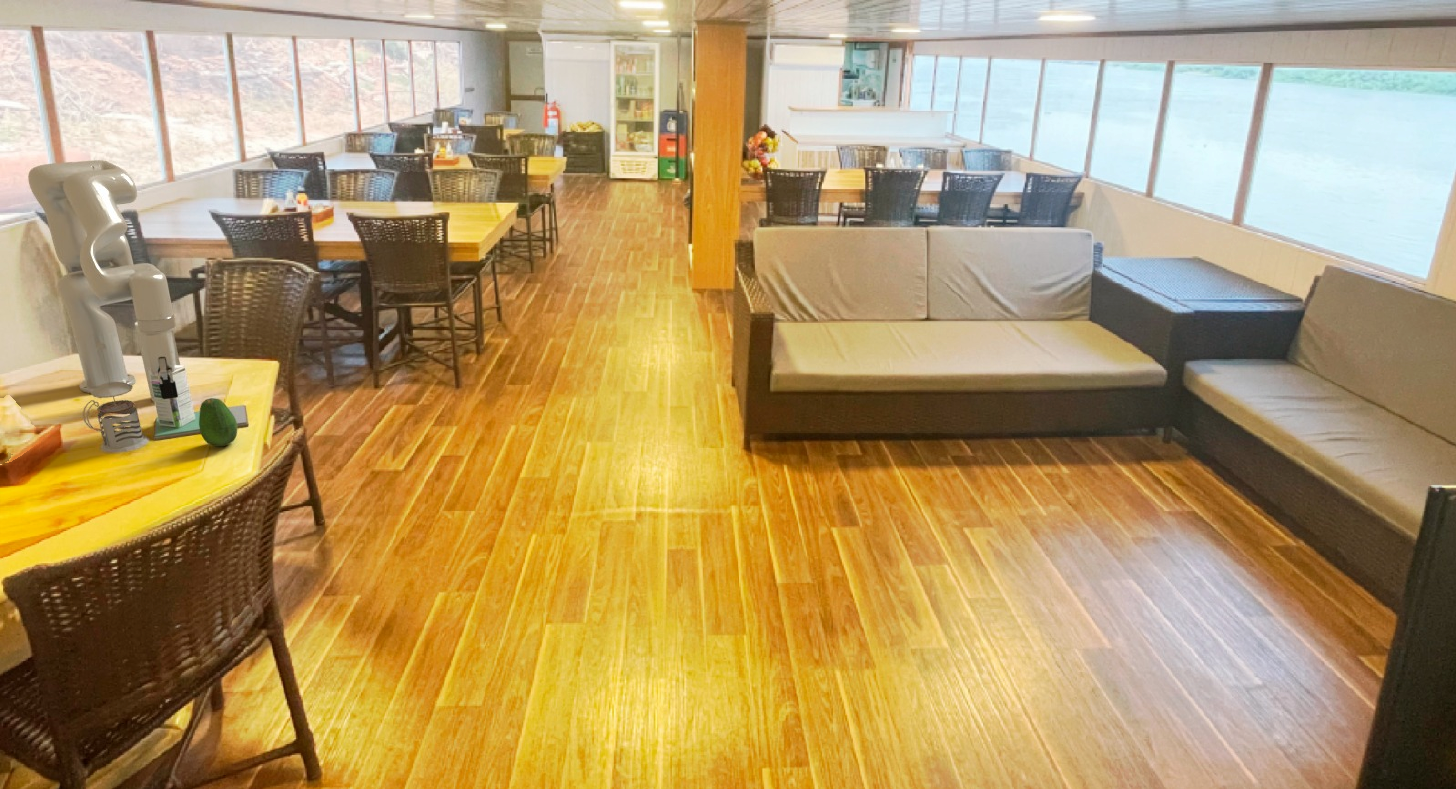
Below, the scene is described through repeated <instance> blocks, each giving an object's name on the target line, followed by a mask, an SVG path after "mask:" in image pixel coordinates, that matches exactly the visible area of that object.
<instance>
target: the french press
mask: <svg viewBox="0 0 1456 789" xmlns="http://www.w3.org/2000/svg"><path fill="white" fill-rule="evenodd" d="M106 348H107V346H106V345H105V344H104V343H100V344H98V345H97V349H98V350H102V354H103V349H106ZM103 358H104V354H103ZM104 362H105V358H104ZM105 366H106V362H105ZM106 370H107V366H106ZM107 374H108V370H107ZM108 379H109V383H105V384H102V385H100V386H98V387H97V388H95V389H94V390H93V391H92V392H91V393H90V394H91V396H92V397H94V398H97V399H102V398H103V399H106V398H112V399H113V400H112V401H108V402H105V403H103V404H101V405H99V402H98V401H95V400H89V402H87V403H86V405H85V406H84V407H83V412H82V417H83V418H82V419H83V421H84V423H85V425H86V426H87V427H88V428H89V429H92V430H93V431H97V432H100V434H101V438H102V441H103V443H102V444H101V445H100V447H99V449H100V450H101V451H102V452H104V453H107V454H108V453H109V454H113V453H114V454H119V453H126V452H130V451H134V450H137V449H140V448H142V447H144V446H146V445H147V444H148V443H149V441H150V438H149V437H148V436H147V435H144V434H143V432H142V431H143V429H142V427H141V422H140V418H139V413H138V408H137V407H136V406H135V402H133V401H132V400H127V399H124V400H122V399H118V400H115V397H119V396H122V395H125V394H128V393H129V392H131V391H132V389H133V385H130V384H127V383H124V382H110V378H109V374H108ZM92 402H93V403H92ZM90 403H92V404H90ZM89 404H90V406H89V407H88V405H89ZM93 405H94V406H95V407H96V408H97V411H98V413H97V420H98V423H99V427H100V428H95V427H94V426H93V425H92V424H91V423H90V420H89V415H90V413H89V412H90V409H91V408H92V407H93ZM87 407H88V409H87V412H86V408H87ZM85 413H86V416H85ZM105 414H114V415H105ZM104 415H105V416H104ZM116 415H124V416H116ZM103 416H104V417H103ZM102 417H103V418H102ZM86 419H87V420H86Z"/></svg>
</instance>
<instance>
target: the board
mask: <svg viewBox="0 0 1456 789" xmlns="http://www.w3.org/2000/svg"><path fill="white" fill-rule="evenodd" d="M227 407H228V409H229V410H230V411H231V412H232V414H233V415H234V417H235V419H236V422H237V429H239V428H246V427H249V420H248V413H247V406H246V405H244V404H241V405H234V406H227ZM194 414H195V420H193V421H191V422H189V423H188V424H186V425H184V426H182V427H180V428H177V427H170V426H160V425H159V420H158V416H157V417H155V422H154V424H155V425H154V435H153V440H154V441H161V440H167V439H175V438H179V437H180V438H181V437H187V436H194V435H201V434H200V427H199V416H200V410H199V411H194Z"/></svg>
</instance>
